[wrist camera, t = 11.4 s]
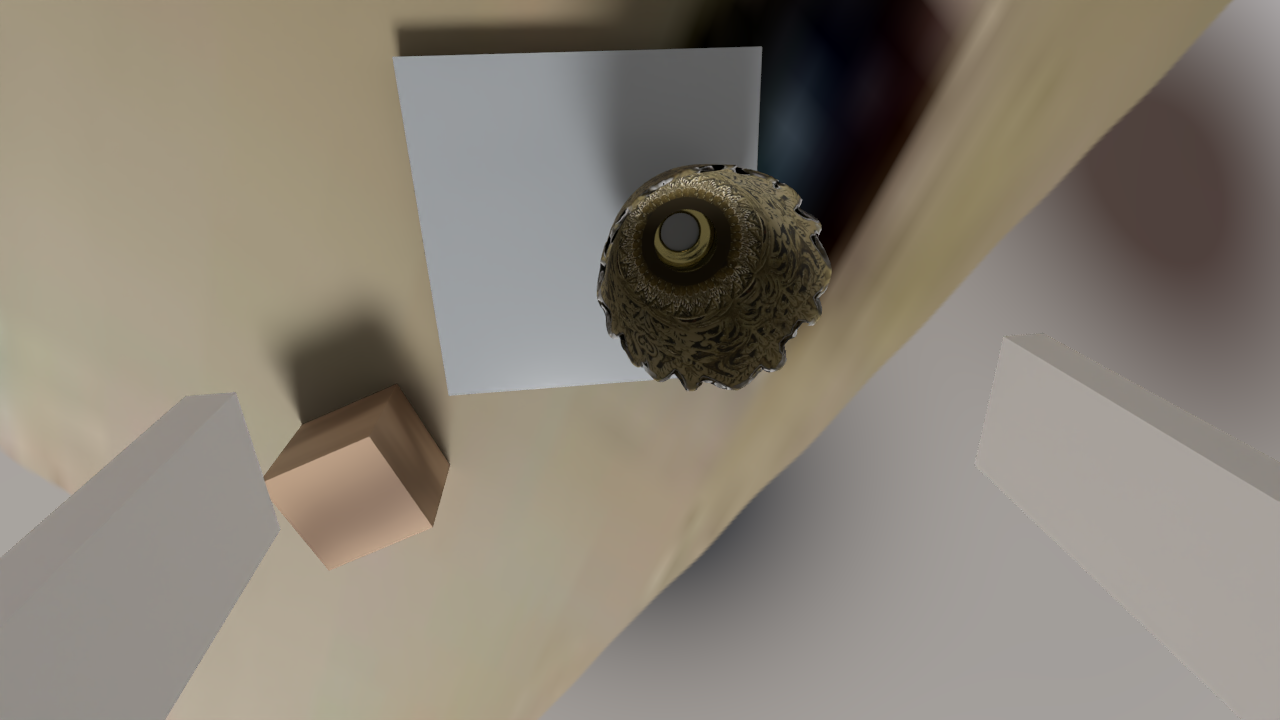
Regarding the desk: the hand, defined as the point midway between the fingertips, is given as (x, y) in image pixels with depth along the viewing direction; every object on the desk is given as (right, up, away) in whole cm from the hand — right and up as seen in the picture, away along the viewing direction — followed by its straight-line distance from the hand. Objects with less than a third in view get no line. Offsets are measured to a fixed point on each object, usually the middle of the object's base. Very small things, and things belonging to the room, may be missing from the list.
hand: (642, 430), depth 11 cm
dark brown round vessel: (+2, +7, +16) cm, 18 cm away
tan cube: (-13, -3, +20) cm, 24 cm away
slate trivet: (-2, +7, +17) cm, 19 cm away
